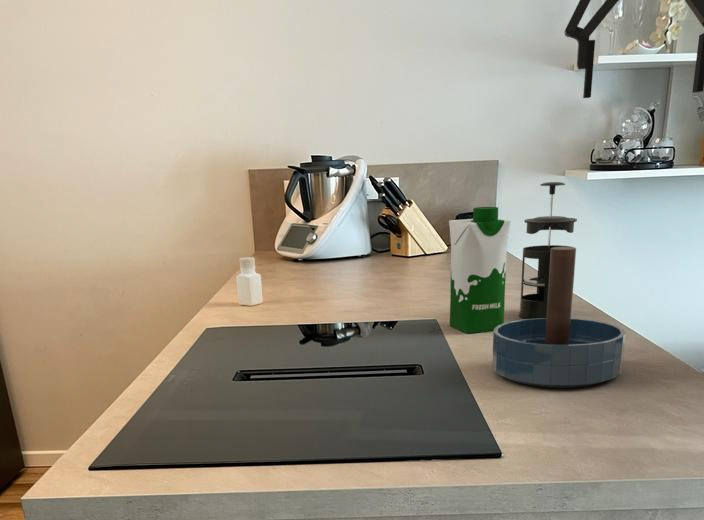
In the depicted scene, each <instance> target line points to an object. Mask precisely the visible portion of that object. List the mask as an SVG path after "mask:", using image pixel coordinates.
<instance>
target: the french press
mask: <svg viewBox="0 0 704 520" xmlns="http://www.w3.org/2000/svg"><path fill="white" fill-rule="evenodd" d="M565 185H566V183H564V182H561V181H549V182H543V183H541V184H540V187H549V195H550V203H549V204H550V205H549V215H547V216H546V215H545V216H537V217H533V218H527V219H524V221H523V222H524V223H526V231H525V233H526V234H529V235H534V234H537V233H538V232H540V231H548V235H547V236H548V237H547V244H546V245H545V244H544V245H530V246H526V247H523V248H522V263H521V281H520V282H521V283H520V285H521V286H520V304H519V312H518V317H519V318H521V319H531V318H546V316H547V301H548V285H549V269H550V253H551V248H553V247H572V246H570V245H557V244H555V245H554V244H551V236H552V234H551V233H552V231H565V232H566V233H570V234H573V233H574V230H575V229H574V228H575V223H576V222H578V219H577V218H574V217H566V216H562V215H561V216H560V215H559V216H558V215H553V202H554V195H555V194H556V187H557V186H558V187H559V186H565ZM525 259H530V260H531V259H533V260H538V262H537V276H532V277H527V278H525ZM524 285H525V286H528V287H535V288H536V293H529V294H524Z"/></svg>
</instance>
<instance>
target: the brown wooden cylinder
mask: <svg viewBox="0 0 704 520" xmlns="http://www.w3.org/2000/svg"><path fill="white" fill-rule="evenodd" d="M576 255H577V248H576V247H574V246H571V247H553V248H551V253H550V269H549V285H548V301H547V316H546V332H545V344H557V345H569V337H570V324H571V318H572V309H573V298H574V297H573V296H574V281H575V269H576V258H577V256H576Z"/></svg>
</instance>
